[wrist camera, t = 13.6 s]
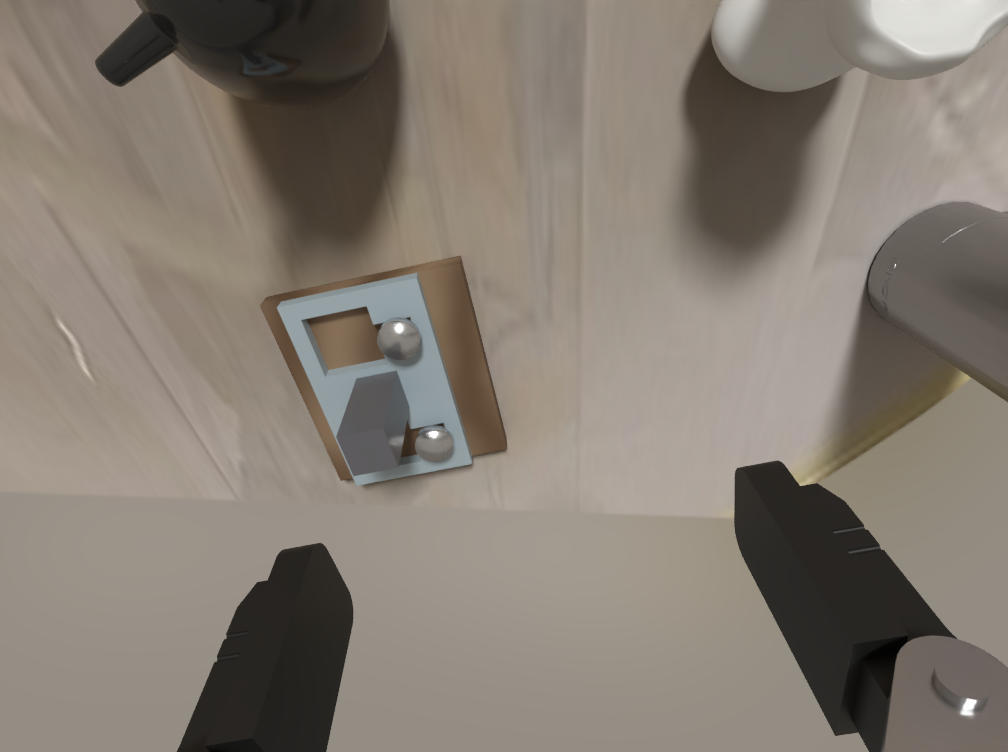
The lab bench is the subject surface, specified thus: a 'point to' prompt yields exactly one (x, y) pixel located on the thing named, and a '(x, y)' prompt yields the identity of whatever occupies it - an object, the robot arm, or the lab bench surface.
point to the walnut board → (364, 348)
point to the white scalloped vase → (849, 38)
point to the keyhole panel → (411, 369)
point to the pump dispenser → (257, 46)
